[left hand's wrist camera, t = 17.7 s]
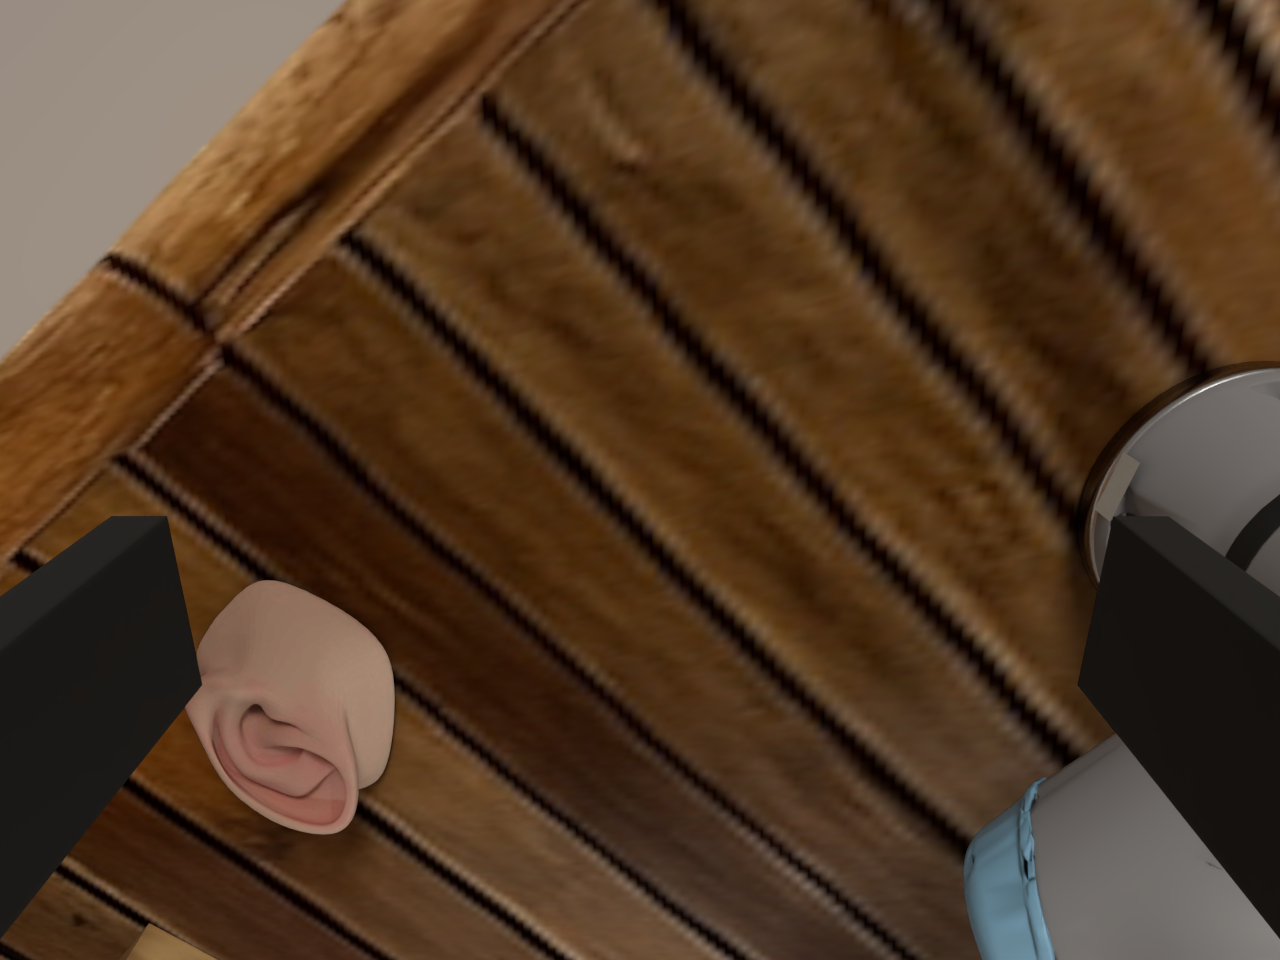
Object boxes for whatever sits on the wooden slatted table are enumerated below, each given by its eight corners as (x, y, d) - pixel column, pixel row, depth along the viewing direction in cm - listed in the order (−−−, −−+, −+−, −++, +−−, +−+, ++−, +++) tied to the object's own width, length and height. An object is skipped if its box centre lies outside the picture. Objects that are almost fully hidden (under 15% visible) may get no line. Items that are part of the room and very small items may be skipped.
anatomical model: (176, 598, 43) (408, 660, 45) (213, 561, 47) (425, 620, 48) (145, 805, 48) (355, 856, 49) (181, 756, 52) (375, 805, 53)
